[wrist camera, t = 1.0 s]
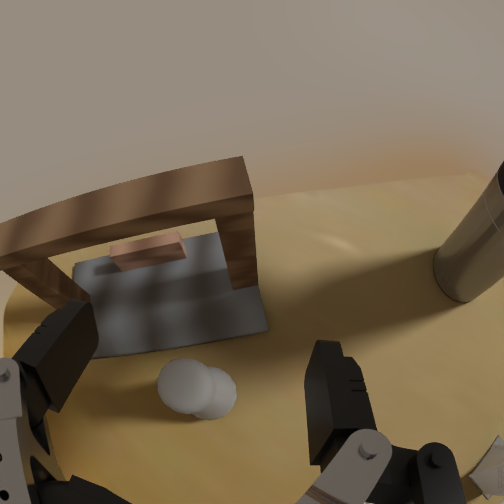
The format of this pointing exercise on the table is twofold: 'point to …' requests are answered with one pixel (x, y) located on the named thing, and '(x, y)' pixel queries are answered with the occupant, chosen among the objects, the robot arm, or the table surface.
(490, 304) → the table surface
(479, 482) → the skyscraper
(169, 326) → the gateway
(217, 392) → the salt shaker
